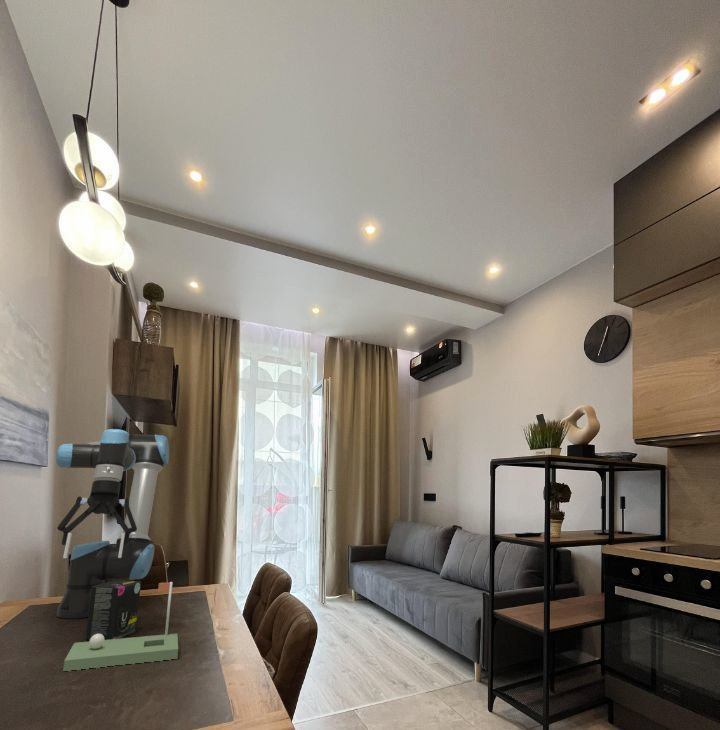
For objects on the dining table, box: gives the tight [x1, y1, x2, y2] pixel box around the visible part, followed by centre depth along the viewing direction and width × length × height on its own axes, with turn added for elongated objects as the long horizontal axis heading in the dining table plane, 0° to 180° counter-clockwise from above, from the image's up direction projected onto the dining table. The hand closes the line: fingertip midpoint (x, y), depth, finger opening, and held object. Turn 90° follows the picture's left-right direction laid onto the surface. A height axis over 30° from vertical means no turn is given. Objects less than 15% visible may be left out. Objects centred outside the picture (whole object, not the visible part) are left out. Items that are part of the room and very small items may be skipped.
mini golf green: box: [62, 581, 179, 672], centre depth 130 cm, size 14×26×16 cm, turn 111°
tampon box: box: [85, 580, 142, 641], centre depth 146 cm, size 11×9×15 cm
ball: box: [88, 634, 105, 649], centre depth 126 cm, size 4×4×4 cm
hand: (92, 558), depth 135 cm, fingers open, 13 cm apart
